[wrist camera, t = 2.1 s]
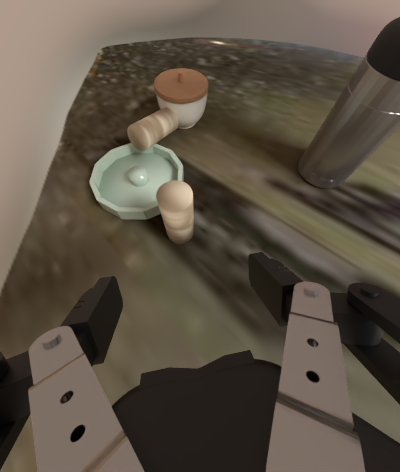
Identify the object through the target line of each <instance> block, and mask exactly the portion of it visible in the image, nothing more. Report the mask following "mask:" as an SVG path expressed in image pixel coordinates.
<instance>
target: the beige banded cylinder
mask: <svg viewBox="0 0 400 472" xmlns="http://www.w3.org/2000/svg"><path fill="white" fill-rule="evenodd" d="M178 124H179V121H178V117H177V115H176V113H175V111H174V110H173V109H171V108H168V107H165V108H163V109H161V110H159V111H157V112H155V113H153V114H151V115H149V116H147V117H145V118H143V119H141V120H139V121H137V122H136V123H134V124H132V125H130V126H129V127H128V130H127V133H128V137H129V140H130V141H131V143H132V144H133V146H134V147H135V148H137V149H138V150H140V151H145V150H146V149H148V148H149V147H151V146H152V145H154V144H155V143H157V142H158V141H160V140H161V139H163V138H164V137H166V136H167V135H169V134H170V133H172V132H173V131H175V130H176V129H177V128H178Z"/></svg>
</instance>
